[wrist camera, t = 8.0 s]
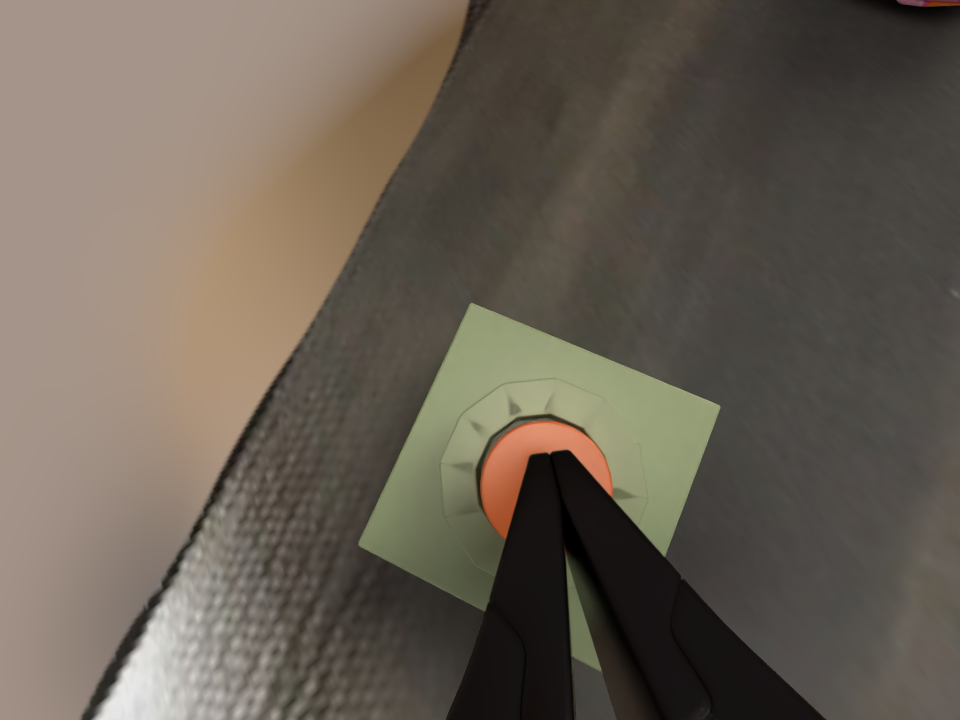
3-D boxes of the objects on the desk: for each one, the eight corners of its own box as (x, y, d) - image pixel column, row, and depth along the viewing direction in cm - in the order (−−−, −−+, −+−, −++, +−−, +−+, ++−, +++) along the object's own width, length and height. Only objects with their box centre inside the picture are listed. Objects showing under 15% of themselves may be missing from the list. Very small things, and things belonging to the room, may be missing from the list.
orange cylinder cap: (571, 557, 14) (582, 581, 12) (468, 507, 15) (458, 520, 12) (613, 451, 15) (633, 453, 12) (512, 406, 15) (511, 399, 13)
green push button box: (590, 614, 21) (634, 718, 13) (398, 518, 22) (334, 559, 14) (667, 415, 22) (750, 400, 14) (481, 336, 24) (464, 284, 16)
